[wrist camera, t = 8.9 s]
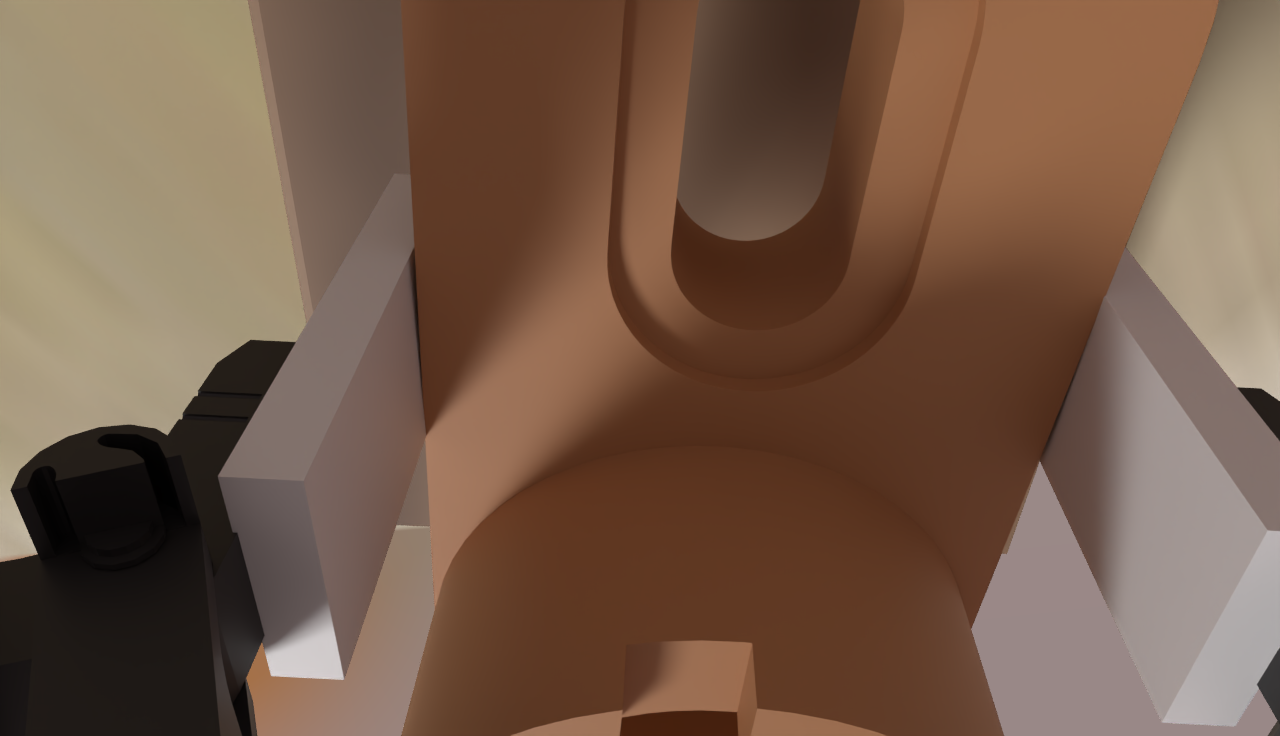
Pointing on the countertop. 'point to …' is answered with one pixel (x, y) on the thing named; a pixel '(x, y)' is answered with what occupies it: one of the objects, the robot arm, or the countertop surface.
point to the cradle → (712, 142)
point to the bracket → (753, 358)
